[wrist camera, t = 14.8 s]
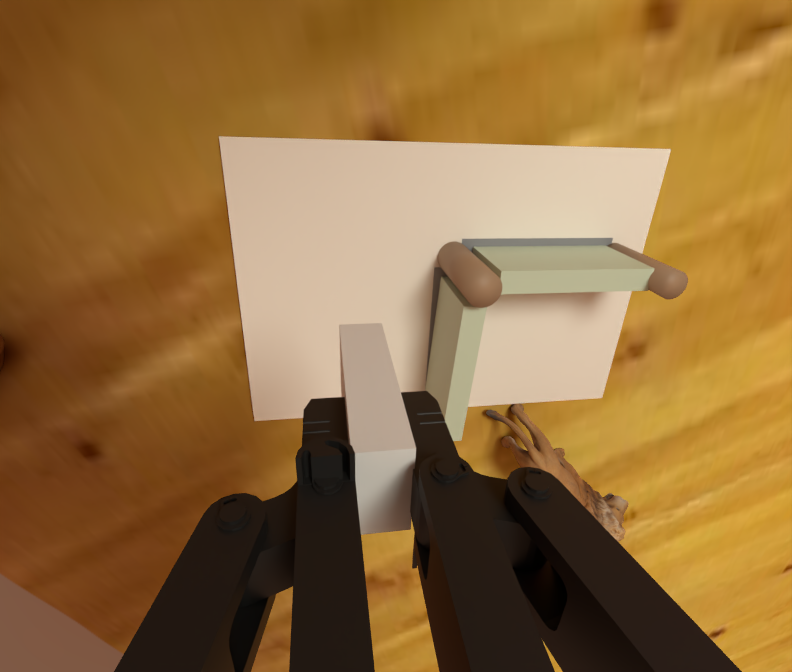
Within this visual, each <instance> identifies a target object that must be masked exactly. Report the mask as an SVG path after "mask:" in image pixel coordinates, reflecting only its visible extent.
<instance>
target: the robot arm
mask: <svg viewBox="0 0 792 672" xmlns="http://www.w3.org/2000/svg"><path fill="white" fill-rule="evenodd" d="M339 332H340V369H341V395H342V397H333V398H317V399H311V400H310V401H309V403H308V404H307V406H306V407H305V409H304V413H303V436H302V447H301V448H300V449H299V450H298V452H297V455H296V458H295V459H296V470H297V482H296V483H295V484H294V485H293V487H292V488H291V489H289V490H288V491H286V492H285V493H283V494H281V495H279V496H277V497H274V498H272V499H269V500H266V501H263V502H262V501H261V500H260V499H259V498H258V497H256V496H254V495H250V494H247V493H241V494H232V495H229V496H226V497H223V498H221V499H219V500H218V501H216V502H215V503H213V504H212V505H211V506H210V507H209V508H208V509H207V511H206V512H205V513H204V514H203V516H202V518H201V520H200V521H199V523H198V525H197V527H196V528H195V530H194V532H193V534H192V535H191V537H190V539H189V541H188V543H187V544H186V546H185V548H184V550H183V551H182V553H181V555H180V557H179V558H178V560H177V562H176V564H175V565H174V567H173V569H172V571H171V572H170V574H169V576H168V578H167V579H166V581H165V583H164V585H163V586H162V588H161V590H160V592H159V594H158V595H157V597H156V599H155V601H154V602H153V604H152V606H151V608H150V609H149V611H148V613H147V615H146V616H145V618H144V620H143V622H142V623H141V625H140V627H139V629H138V630H137V632H136V634H135V636H134V638H133V639H132V641H131V643H130V645H129V646H128V648H127V650H126V652H125V653H124V655H123V657H122V659H121V660H120V662H119V664H118V666H117V667H116V669H115V671H114V672H251V669H252V666H253V663H254V660H255V657H256V654H257V651H258V648H259V645H260V642H261V639H262V636H263V633H264V630H265V627H266V624H267V621H268V618H269V615H270V612H271V609H272V606H273V603H274V600H275V596H276V594H277V593H279V592H281V591H283V590H286V589H288V588H290V587H292V586H293V603H292V625H291V646H290V668H289V672H375V670H374V660H373V650H372V640H371V630H370V620H369V610H368V600H367V591H366V581H365V571H364V561H363V551H362V541H361V535H362V534H371V533H381V532H390V531H400V530H410V529H411V517H412V522H413V527H414V531H415V535H414V548H413V564H412V568H417V565H418V570H419V575H420V580H421V585H422V589H423V594H424V599H425V604H426V609H427V614H428V618H429V623H430V628H431V633H432V638H433V642H434V647H435V652H436V657H437V662H438V667H439V671H440V672H555V671H554V668H553V666H552V663H551V661H550V659H549V656H548V654H547V651H546V649H545V646H544V644H543V641H544V643H545V645H546V646H547V648H548V649H549V651H550V652H551V654H552V655H553V657H554V658H555V660H556V662H557V663H558V665H559V666H560V668H561V669H562V671H563V672H742V671H741V670H740V669H739V668H738V667H737V666H736V665H735V664H734V663H733V662H732V661H731V660H730V659H729V658H728V657H727V656H726V655H725V654H724V653H723V652H722V650H721V649H720V648H719V647H718V646H717V645H716V644H715V643H714V642H713V641H712V640H711V639H710V638H709V637H708V636H707V635H706V634H705V633H704V632H703V631H702V630H701V628H700V627H699V626H698V625H697V624H696V623H695V622H694V621H693V620H692V619H691V618H690V617H689V616H688V615H687V614H686V613H685V612H684V611H683V610H682V609H681V608H680V606H679V605H678V604H677V603H676V602H675V601H674V600H673V599H672V598H671V597H670V596H669V595H668V594H667V593H666V592H665V591H664V590H663V589H662V588H661V587H660V585H659V584H658V583H657V582H656V581H655V580H654V579H653V578H652V577H651V576H650V575H649V574H648V573H647V572H646V571H645V570H644V569H643V568H642V567H641V566H640V565H639V563H638V562H637V561H636V560H635V559H634V558H633V557H632V556H631V555H630V554H629V553H628V552H627V551H626V550H625V549H624V548H623V547H622V546H621V545H620V544H619V542H618V541H617V540H616V539H615V538H614V537H613V536H612V535H611V534H610V533H609V532H608V531H607V530H606V529H605V528H604V527H603V526H602V525H601V524H600V523H599V522H598V520H597V519H596V518H595V517H594V516H593V515H592V514H591V513H590V512H589V511H588V510H587V509H586V508H585V507H584V506H583V505H582V504H581V503H580V502H579V501H578V499H577V498H576V497H575V496H574V495H573V494H572V493H571V492H570V491H569V490H568V489H567V488H566V487H565V486H564V485H563V484H562V483H561V482H560V481H559V480H558V479H557V478H556V477H555V476H553V475H552V474H551V473H549V472H547V471H544V470H542V469H540V468H534V467H523V468H518V469H516V470H514V471H513V472H511V474H510V476H509V477H508V480H506V479H500V478H494V477H489V476H485V475H481V474H479V473H476V472H474V471H473V470H472V468H471V467H470V465H469V464H468V463H467V462H466V461H464V460H463V459H462V458H460V457H459V455H458V453H457V450H456V447H455V445H454V442H453V440H452V437H451V434H450V432H449V429H448V427H447V424H446V423H445V419H444V416H443V414H442V411H441V409H440V406H439V403H438V401H437V400H436V399H435V398H434V397H433V396H432V395H431V394H430V393H429V392H428V391H416V392H401V391H400V388H399V384H398V381H397V377H396V373H395V370H394V366H393V362H392V359H391V355H390V352H389V348H388V344H387V341H386V337H385V334H384V330H383V326H382V323H369V324H342V325H339ZM541 638H542V639H541ZM542 640H543V641H542Z"/></svg>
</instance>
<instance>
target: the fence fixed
mask: <svg viewBox="0 0 792 672" xmlns="http://www.w3.org/2000/svg"><path fill="white" fill-rule="evenodd" d="M438 263H439V266H440V267H441V268H442V269H443V271H444V272H445V273H446V274H447V276H448V277H449V278H450V279H451V281H452V282H453V283H454V284H455V286H456V287H457V288H458V289H459V291H460V292H461V293H462V294H463V296H464V297H465V298H466V299H467V301H468V302H469V303H470V304H471V305H473V306H475V307H478V308H485V307H488V306H490V305H492V304H494V303H495V302H496V301H497V300H498V299H499V297H500V295H501V294H537V293H575V292H612V291H648V290H650V291H652V292H654V293H656V294H657V295H659V296H661V297H663V298H665V299H673V298H676V297H678V296H679V295H680V294H681V293H682V292H683V291H684V290H685V288H686V286H687V283H688V278H687V275H686V274H685V273H684V272H682V271H680V270H677V269H675V268H673V267H671V266H668V265H666V264H664V263H662V262H659V261H657V260H655V259H653V258H650V257H648V256H646V255H644V254H641V253H639V252H637V251H634V250H632V249H630V248H628V247H625V246H623V245H621V244H619V243H612V244H609V245H608V246H606V245H598V246H487V247H473V252H471V251H470V250H469V249H468V248H467V247H465V246H464V245H463V244H462V243H460V242H456V241H453V242H449V243H447V244H445V245H444V246H443V247H442V248H441V249H440V251H439V253H438Z"/></svg>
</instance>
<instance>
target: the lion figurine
mask: <svg viewBox="0 0 792 672" xmlns="http://www.w3.org/2000/svg"><path fill="white" fill-rule="evenodd" d="M511 411H512V413H513V414H514V415H516V416H517V418H518V419H519V420H520V422H521V423H522V424H523V425H525V426H526V428H527V429H528V430H529V432H530V434H531V436H532V440H533V443H534V446H533V444H532V443H531V441H530V440H529V439H528V438H527V436H526V435H525V434H524V433H523V432H522V430H521V429H520V428H519V427H518V426H517V425H516V424H515V423H514V422H512V421H511V420H509V419H508V418H506V417H504V416H502V415H500V414H499V413H497V412H496V411H493V410H488V411H487V412H486V414H487V415H488V416H490V417H492V418H493V419H495V420H497V421H501V422H503V423H505V424H507V425H508V426H509V427H510V428H511V429H513V431H514V432H515V433H516V434H517V435H518V437H519V438H520V439H521V441H522V442H523V444H524V445H525V447H526V448H527V450H528V451H526V450H523V449H522V448H520V447H519V446H518V445H517V444H516V442H515V440H514V439H513V438H512V437H511V436H506V437H504V438H503V439H502V441H501V443H502V445H503V447H506V448H509V447H510V448H511V450H512V452H513V454H514V456H515V458H516V460H517V462H518V464H519V465H520V466H521V467H522V468H523V467H534V468H540V469H542V470H544V471H547V472H549V473H551V474H552V475H553V476H555V477H556V478H557V479H558V480H559V481H560V482H561V483H562V484H563V485H564V486H565V487H566V488H567V489H568V490H569V491H570V492H571V493H572V494H573V495H574V496H575V497H576V498H577V499H578V501H579V502H580V503H581V504H582V505H583V506H584V507H585V508H586V509H587V510H588V511H589V512H590V513H591V514H592V515H593V516H594V517H595V518H596V519H597V520H598V522H599V523H600V524H601V525H602V526H603V527H604V528H605V529H606V530H607V531H608V532H609V533H610V534H611V535H612V536H613V537H614V538H615V539H616V540H617V541H620V540H622V539H623V538H624V535H625V530H624V528H623V527H622V523H623V521H624V518H623V515H624V513H625V511H626V509H627V507H628V502H627V501H626V500H623V499H622V498H621V497H620V496H614V495H613V494H611V493H609V494H607V495H606V496H605V497H601V495H600V494H599V492H597V491H594V490H593V489H592V487H591V486H590V485H588V484H587V482H585V481H584V480H582V479H581V478H580V477H579V475H578V474H577V472H576V470H575V469H574V468H573V466H572V465H571V464H569V463H568V462H567V461H566V460H565V459H564V458H563V456H564V455H565V453H564V449H562V448H558V449H555V450H553V448H552V447H551V444H550V442H549V441H548V439H547V438H546V437H545V435H544V434H543V433H542V432H541V431H540V430H539V428H538V427H537V426H536V425H535V424H534V423H533V422H532V421H531V420H530V419H529V417H528V415H527V414H525V413H524V412H523V411H524V408H523V406H522V405H521V404H520V403H518V404H514V405H513V406H512V407H511Z"/></svg>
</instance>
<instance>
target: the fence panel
mask: <svg viewBox="0 0 792 672" xmlns="http://www.w3.org/2000/svg"><path fill="white" fill-rule="evenodd" d="M486 310H487V307H485V308H478V307H475V306H473V305H471V304H470V303H469V302H468V301H467V299H466V298H465V297H464V296H463V294H462V293H461V292H460V291H459V289H458V288H457V287H456V286H455V284H454V283H453V282H452V281H451V279H450V278H449V277H441V281H440V288H439V295H438V302H437V309H436V316H435V323H434V330H433V337H432V344H431V351H430V358H429V366H428V373H427V380H426V387H425V391H428V392H429V393H430V394H431V395H432V396H433V397H434V398H435V399H436V400H437V401H438V403H439V406H440V409H441V411H442V414H443V416H444V419H445V423H446V424H447V427H448V429H449V432H450V434H451V437H452V440H453V441H461V440H462V435H463V429H464V424H465V419H466V414H467V409H468V403H469V398H470V393H471V388H472V383H473V377H474V372H475V367H476V362H477V357H478V351H479V346H480V341H481V336H482V331H483V325H484V320H485V315H486Z"/></svg>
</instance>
